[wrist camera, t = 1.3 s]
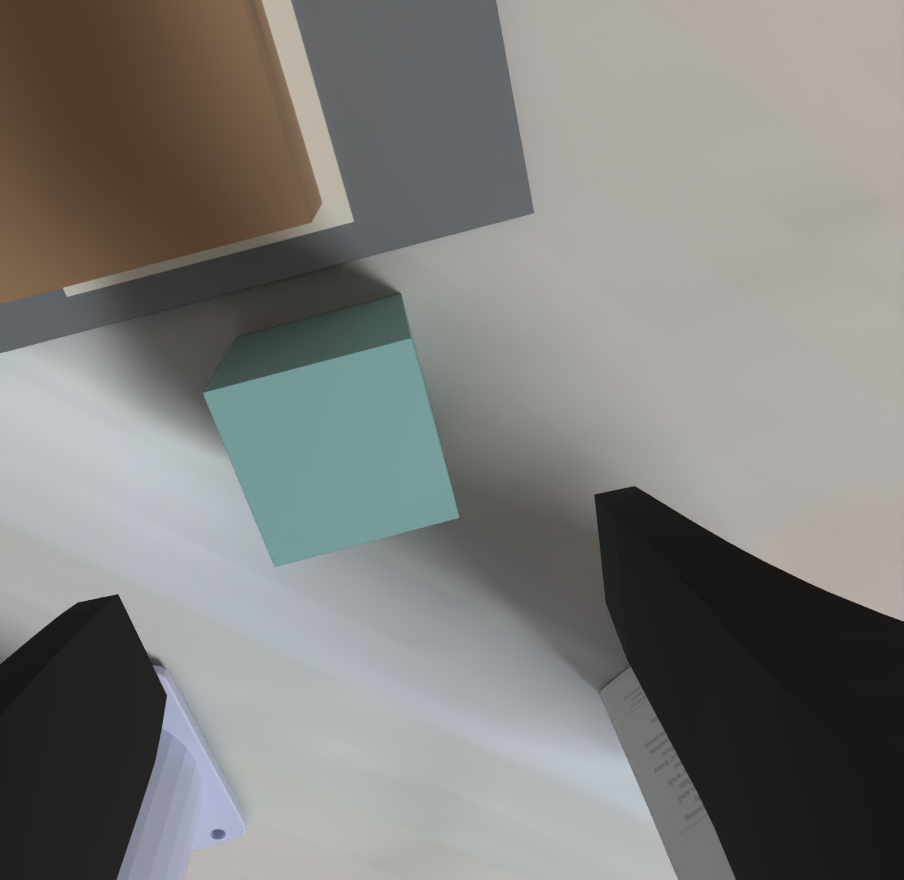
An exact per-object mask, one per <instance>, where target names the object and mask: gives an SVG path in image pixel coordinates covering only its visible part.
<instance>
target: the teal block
mask: <svg viewBox="0 0 904 880" xmlns="http://www.w3.org/2000/svg"><path fill="white" fill-rule="evenodd" d="M203 395H204V398H205V400H206V403H207V405H208V407H209V410H210V412H211V415H212V417H213V419H214V422H215V424H216V427H217V429H218V432H219V434H220V436H221V439H222V441H223V444H224V446H225V449H226V451H227V453H228V456H229V458H230V461H231V463H232V465H233V468H234V470H235V473H236V475H237V478H238V480H239V482H240V485H241V487H242V490H243V492H244V494H245V497H246V499H247V502H248V504H249V507H250V509H251V511H252V514H253V516H254V519H255V521H256V524H257V526H258V528H259V531H260V533H261V536H262V538H263V540H264V543H265V545H266V548H267V550H268V553H269V555H270V557H271V560H272V562H273V565H274V567H276V566H280V565H284V564H287V563H291V562H295V561H299V560H303V559H306V558H310V557H314V556H318V555H321V554H325V553H329V552H333V551H336V550H340V549H344V548H348V547H352V546H355V545H359V544H363V543H367V542H370V541H374V540H378V539H382V538H386V537H389V536H393V535H397V534H401V533H404V532H408V531H412V530H416V529H419V528H423V527H427V526H431V525H435V524H438V523H442V522H446V521H450V520H453V519H457V518H459V514H458V510H457V506H456V501H455V497H454V493H453V489H452V485H451V481H450V477H449V473H448V469H447V465H446V461H445V457H444V453H443V449H442V445H441V441H440V437H439V433H438V429H437V426H436V422H435V418H434V415H433V411H432V407H431V403H430V400H429V396H428V392H427V388H426V385H425V381H424V377H423V373H422V370H421V366H420V362H419V359H418V355H417V351H416V347H415V344H414V340H413V336H412V332H411V329H410V325H409V321H408V317H407V314H406V310H405V306H404V303H403V299H402V295H401V294H399V295H395V296H391V297H387V298H383V299H379V300H376V301H372V302H368V303H364V304H360V305H357V306H353V307H349V308H345V309H341V310H338V311H334V312H330V313H326V314H322V315H319V316H315V317H311V318H307V319H303V320H299V321H296V322H292V323H288V324H284V325H280V326H277V327H273V328H269V329H265V330H261V331H258V332H254V333H250V334H246V335H242V336H238V337H237V338H236V340H235V341H234V343H233V345H232V346H231V348H230V349H229V351H228V353H227V354H226V356H225V357H224V359H223V361H222V362H221V364H220V366H219V367H218V369H217V370H216V372H215V374H214V375H213V377H212V379H211V380H210V382H209V383H208V385H207V387H206V388H205V390H204V391H203Z"/></svg>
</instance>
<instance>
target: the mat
mask: <svg viewBox="0 0 904 880" xmlns="http://www.w3.org/2000/svg"><path fill="white" fill-rule="evenodd" d="M262 3H263V6H264V9H265V13H266V16H267V19H268V23H269V26H270V29H271V33H272V36H273V39H274V43H275V46H276V49H277V53H278V56H279V59H280V63H281V66H282V69H283V73H284V76H285V79H286V83H287V86H288V89H289V93H290V96H291V99H292V103H293V106H294V109H295V113H296V116H297V119H298V123H299V126H300V129H301V133H302V136H303V139H304V143H305V146H306V149H307V153H308V156H309V159H310V163H311V166H312V169H313V173H314V176H315V179H316V183H317V186H318V189H319V193H320V196H321V199H322V205H321V207H320V208H319V210H318V212H317V214H316V215H315V217H314V219H313V221H312V222H311V223H308V224H305V225H301V226H297V227H293V228H289V229H285V230H282V231H278V232H274V233H270V234H266V235H263V236H259V237H255V238H251V239H247V240H243V241H240V242H236V243H232V244H228V245H224V246H221V247H217V248H213V249H209V250H205V251H201V252H198V253H194V254H190V255H186V256H182V257H179V258H175V259H171V260H167V261H163V262H159V263H156V264H152V265H148V266H144V267H140V268H137V269H133V270H129V271H125V272H121V273H117V274H114V275H110V276H106V277H102V278H98V279H95V280H91V281H87V282H83V283H79V284H75V285H72V286H68V287H64V288H60V289H56V290H53V291H49V292H45V293H41V294H37V295H33V296H30V297H26V298H22V299H18V300H14V301H10V302H7V303H3V304H2V303H1V301H0V353H3V352H6V351H10V350H14V349H18V348H22V347H26V346H29V345H33V344H37V343H41V342H45V341H48V340H52V339H56V338H60V337H64V336H67V335H71V334H75V333H79V332H83V331H86V330H90V329H94V328H98V327H102V326H106V325H109V324H113V323H117V322H121V321H125V320H128V319H132V318H136V317H140V316H144V315H147V314H151V313H155V312H159V311H163V310H167V309H170V308H174V307H178V306H182V305H186V304H189V303H193V302H197V301H201V300H205V299H208V298H212V297H216V296H220V295H224V294H227V293H231V292H235V291H239V290H243V289H247V288H250V287H254V286H258V285H262V284H266V283H269V282H273V281H277V280H281V279H285V278H288V277H292V276H296V275H300V274H304V273H308V272H311V271H315V270H319V269H323V268H327V267H330V266H334V265H338V264H342V263H346V262H349V261H353V260H357V259H361V258H365V257H368V256H372V255H376V254H380V253H384V252H388V251H391V250H395V249H399V248H403V247H407V246H410V245H414V244H418V243H422V242H426V241H429V240H433V239H437V238H441V237H445V236H448V235H452V234H456V233H460V232H464V231H468V230H471V229H475V228H479V227H483V226H487V225H490V224H494V223H498V222H502V221H506V220H509V219H513V218H517V217H521V216H525V215H529V214H532V213H534V210H533V205H532V199H531V194H530V188H529V182H528V177H527V171H526V166H525V160H524V154H523V149H522V143H521V138H520V132H519V126H518V121H517V115H516V110H515V104H514V99H513V93H512V87H511V82H510V76H509V71H508V65H507V59H506V54H505V48H504V43H503V37H502V31H501V26H500V20H499V15H498V9H497V4H496V0H262Z"/></svg>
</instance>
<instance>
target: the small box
mask: <svg viewBox="0 0 904 880" xmlns="http://www.w3.org/2000/svg"><path fill="white" fill-rule="evenodd" d="M600 697H601V699H602V701H603V704H604V706H605V708H606V710H607V713H608V715H609V717H610V720H611V722H612V724H613V727H614V729H615V731H616V734H617V736H618V738H619V741H620V743H621V745H622V748H623V750H624V752H625V755H626V757H627V759H628V761H629V764H630V766H631V768H632V771H633V773H634V775H635V778H636V780H637V782H638V785H639V787H640V790H641V792H642V794H643V797H644V799H645V801H646V804H647V806H648V808H649V811H650V813H651V816H652V818H653V820H654V823H655V825H656V828H657V830H658V832H659V835H660V837H661V840H662V842H663V845H664V847H665V850H666V852H667V854H668V857H669V859H670V862H671V864H672V866H673V868H674V871H675V873H676V875H677V878H678V880H736V879H735V877H734V874H733V872H732V870H731V867H730V865H729V862H728V860H727V857H726V855H725V853H724V850H723V848H722V845H721V843H720V841H719V838H718V836H717V833H716V831H715V829H714V826H713V824H712V822H711V820H710V818H709V816H708V814H707V812H706V810H705V808H704V805H703V803H702V801H701V799H700V797H699V795H698V793H697V791H696V789H695V787H694V785H693V784H692V782H691V780H690V778H689V776H688V774H687V772H686V770H685V769H684V767H683V765H682V763H681V761H680V759H679V757H678V755H677V753H676V752H675V750H674V748H673V746H672V744H671V742H670V740H669V738H668V736H667V735H666V733H665V731H664V729H663V727H662V725H661V723H660V721H659V719H658V718H657V716H656V714H655V712H654V710H653V708H652V706H651V704H650V702H649V701H648V699H647V697H646V695H645V693H644V691H643V689H642V687H641V685H640V683H639V681H638V680H637V678H636V676H635V674H634V672H633V670H632V668H631V666H630V667H629V668H627V669H626V670H625V671H624V672H623V673H621V674H620V675H619V676H618V677H617V678H615V679H614V680H613V681H611V682H610V683H609V684H608V685H607V686H606V687H604V688H603V689H602V690H601V692H600Z"/></svg>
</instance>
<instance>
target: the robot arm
mask: <svg viewBox="0 0 904 880" xmlns="http://www.w3.org/2000/svg"><path fill="white" fill-rule="evenodd" d="M594 496H595V505H596V514H597V524H598V533H599V542H600V551H601V561H602V570H603V579H604V589H605V598H606V604H607V607H608V610H609V612H610V615H611V618H612V621H613V623H614V626H615V629H616V631H617V634H618V637H619V639H620V642H621V644H622V647H623V650H624V652H625V655H626V657H627V660H628V662H629V664H630V666H631V668H632V670H633V672H634V674H635V676H636V678H637V680H638V681H639V683H640V685H641V687H642V689H643V691H644V693H645V695H646V697H647V699H648V701H649V702H650V704H651V706H652V708H653V710H654V712H655V714H656V716H657V718H658V719H659V721H660V723H661V725H662V727H663V729H664V731H665V733H666V735H667V736H668V738H669V740H670V742H671V744H672V746H673V748H674V750H675V752H676V753H677V755H678V757H679V759H680V761H681V763H682V765H683V767H684V769H685V770H686V772H687V774H688V776H689V778H690V780H691V782H692V784H693V785H694V787H695V789H696V791H697V793H698V795H699V797H700V799H701V801H702V803H703V805H704V808H705V810H706V812H707V814H708V816H709V818H710V820H711V822H712V824H713V826H714V829H715V831H716V833H717V836H718V838H719V841H720V843H721V845H722V848H723V850H724V853H725V855H726V857H727V860H728V862H729V865H730V867H731V870H732V872H733V874H734V877H735V879H736V880H904V622H903V621H901V620H898V619H895V618H892V617H889V616H887V615H884V614H881V613H879V612H877V611H874V610H872V609H869V608H867V607H864V606H862V605H859V604H857V603H854V602H852V601H849V600H847V599H844V598H842V597H840V596H837V595H835V594H832V593H830V592H827V591H825V590H823V589H821V588H818V587H816V586H814V585H812V584H810V583H807V582H805V581H803V580H801V579H799V578H797V577H795V576H793V575H791V574H789V573H787V572H785V571H783V570H781V569H779V568H777V567H775V566H772V565H770V564H768V563H766V562H764V561H762V560H760V559H759V558H757V557H755V556H753V555H751V554H749V553H747V552H745V551H744V550H742V549H740V548H738V547H736V546H734V545H733V544H731V543H729V542H727V541H725V540H724V539H722V538H720V537H718V536H717V535H715V534H713V533H711V532H710V531H708V530H706V529H705V528H703V527H701V526H699V525H698V524H696V523H694V522H693V521H691V520H689V519H688V518H686V517H685V516H683V515H681V514H680V513H678V512H676V511H675V510H673V509H671V508H670V507H668V506H667V505H665V504H663V503H662V502H660V501H658V500H657V499H655V498H654V497H652V496H650V495H649V494H647V493H645V492H644V491H642V490H640V489H638V488H637V487H635V486H633V487H628V488H624V489H619V490H614V491H609V492H605V493H600V494H595V495H594ZM246 828H247V818H246V816H245V814H244V812H243V810H242V809H241V807H240V805H239V803H238V801H237V799H236V797H235V795H234V794H233V792H232V790H231V788H230V786H229V784H228V782H227V780H226V779H225V777H224V775H223V773H222V771H221V769H220V767H219V765H218V764H217V762H216V760H215V758H214V756H213V754H212V752H211V750H210V749H209V747H208V745H207V743H206V741H205V739H204V737H203V735H202V733H201V732H200V730H199V728H198V726H197V724H196V722H195V720H194V718H193V717H192V715H191V713H190V711H189V709H188V707H187V705H186V703H185V702H184V700H183V698H182V696H181V694H180V692H179V690H178V688H177V687H176V685H175V683H174V681H173V679H172V677H171V675H170V673H169V672H168V671H167V670H166V669H164V668H162V667H161V666H155V665H152V663H151V661H150V659H149V657H148V655H147V653H146V651H145V649H144V647H143V644H142V642H141V640H140V638H139V636H138V634H137V632H136V630H135V628H134V626H133V624H132V622H131V620H130V618H129V616H128V613H127V611H126V609H125V607H124V605H123V603H122V601H121V599H120V597H119V595H118V594H117V595H112V596H107V597H102V598H98V599H93V600H88V601H83V602H78V603H77V604H75V605H74V606H72V607H71V608H69V609H68V610H66V611H65V612H64V613H62V614H61V615H60V616H58V617H57V618H56V619H54V620H53V621H52V622H51V623H49V624H48V625H47V626H46V627H44V628H43V629H42V630H41V631H40V632H38V633H37V634H36V635H35V636H33V637H32V638H31V639H30V640H29V641H27V642H26V643H25V644H24V645H23V646H21V647H20V648H19V649H18V650H17V651H16V652H14V653H13V654H12V655H11V656H10V657H9V658H7V659H6V660H5V661H4V662H3V663H1V664H0V880H184V879H185V875H186V870H187V866H188V862H189V858H190V854H191V851H193V850H197V849H201V848H204V847H208V846H212V845H215V844H219V843H223V842H226V841H230V840H234V839H237V838H239V837H242V836H243V835H244V834H245V832H246Z"/></svg>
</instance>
